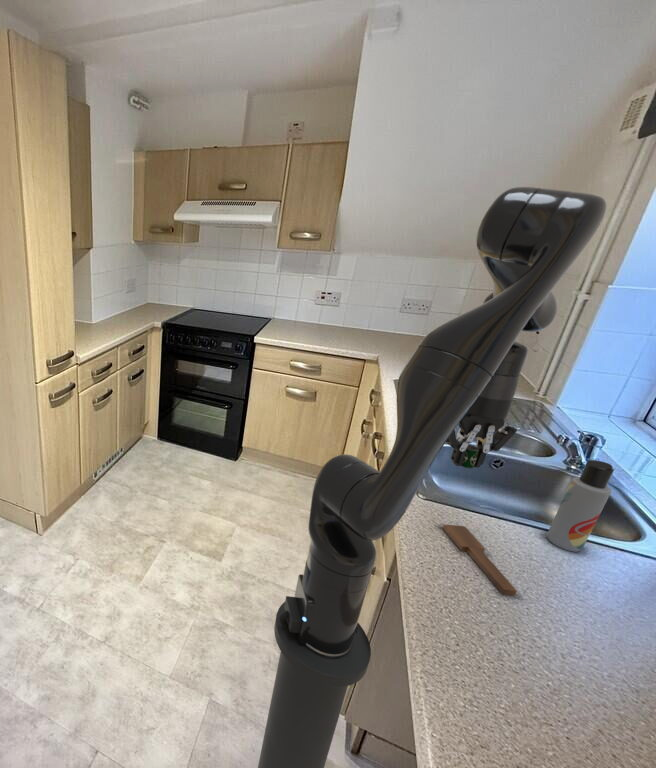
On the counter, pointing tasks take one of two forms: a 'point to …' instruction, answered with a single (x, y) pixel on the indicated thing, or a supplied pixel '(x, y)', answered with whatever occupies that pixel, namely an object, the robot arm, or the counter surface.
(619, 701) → the counter surface
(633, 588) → the counter surface
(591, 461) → the lotion bottle
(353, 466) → the robot arm
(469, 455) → the beer can
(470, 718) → the counter surface
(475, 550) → the spatula
